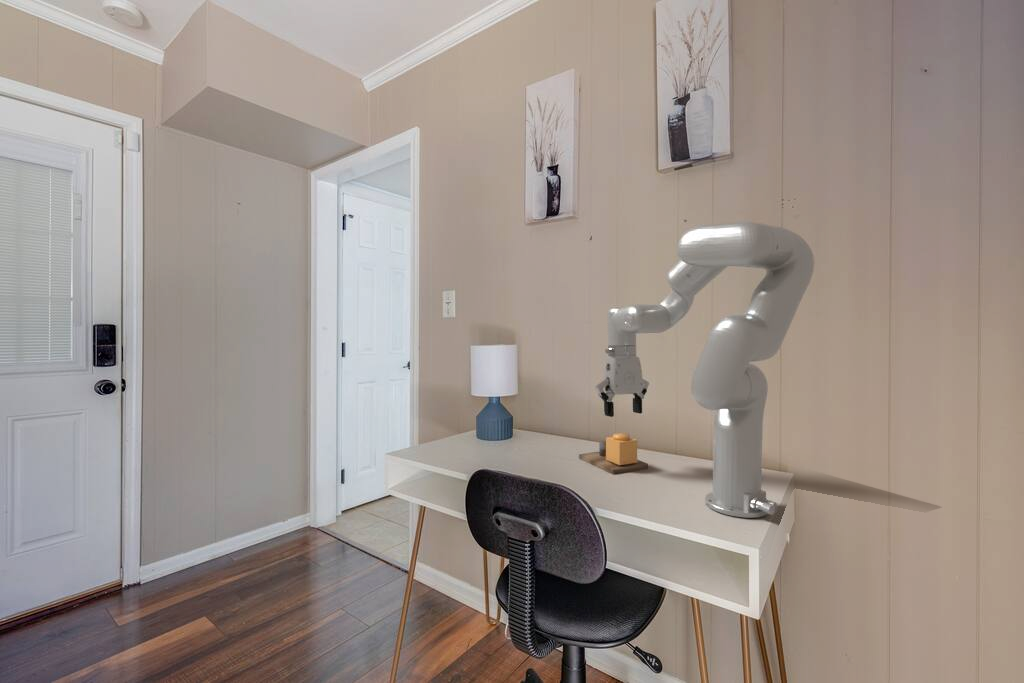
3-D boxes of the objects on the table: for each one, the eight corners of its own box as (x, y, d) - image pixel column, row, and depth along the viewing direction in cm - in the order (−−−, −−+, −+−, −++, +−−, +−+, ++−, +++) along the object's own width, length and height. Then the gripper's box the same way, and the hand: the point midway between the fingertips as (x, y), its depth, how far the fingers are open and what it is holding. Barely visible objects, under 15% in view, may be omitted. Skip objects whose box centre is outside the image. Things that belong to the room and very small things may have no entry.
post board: (648, 468, 128) (648, 443, 128) (612, 474, 123) (612, 449, 123) (612, 453, 143) (612, 431, 142) (579, 458, 137) (579, 435, 137)
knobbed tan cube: (637, 462, 128) (637, 436, 127) (619, 465, 125) (619, 438, 125) (623, 456, 133) (623, 431, 133) (605, 459, 131) (606, 434, 130)
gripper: (604, 353, 121) (606, 419, 121) (656, 351, 128) (657, 413, 128) (588, 353, 128) (589, 415, 128) (637, 350, 135) (639, 409, 135)
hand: (623, 414), depth 128 cm, fingers open, 9 cm apart
